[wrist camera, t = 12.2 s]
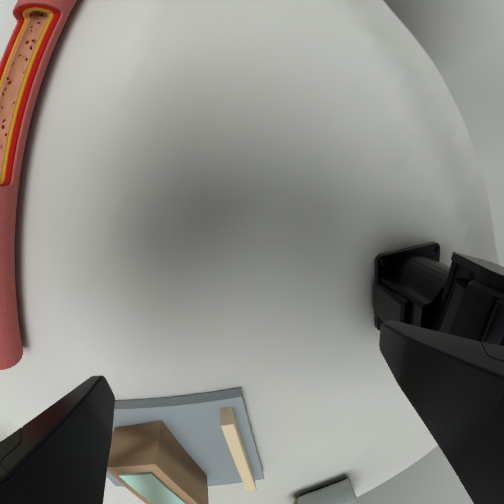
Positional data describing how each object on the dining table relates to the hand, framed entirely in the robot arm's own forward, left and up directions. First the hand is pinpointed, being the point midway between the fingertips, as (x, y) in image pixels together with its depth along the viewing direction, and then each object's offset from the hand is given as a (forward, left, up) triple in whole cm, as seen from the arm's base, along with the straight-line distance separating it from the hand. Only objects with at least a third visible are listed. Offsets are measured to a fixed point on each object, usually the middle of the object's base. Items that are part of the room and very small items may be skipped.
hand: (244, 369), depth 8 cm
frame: (+10, +18, -11) cm, 23 cm away
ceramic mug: (-7, +36, -12) cm, 39 cm away
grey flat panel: (+10, +18, -12) cm, 24 cm away
